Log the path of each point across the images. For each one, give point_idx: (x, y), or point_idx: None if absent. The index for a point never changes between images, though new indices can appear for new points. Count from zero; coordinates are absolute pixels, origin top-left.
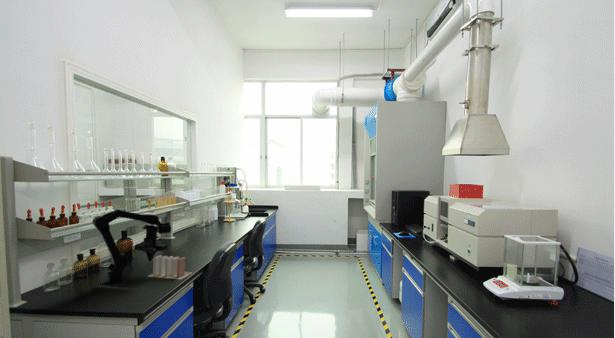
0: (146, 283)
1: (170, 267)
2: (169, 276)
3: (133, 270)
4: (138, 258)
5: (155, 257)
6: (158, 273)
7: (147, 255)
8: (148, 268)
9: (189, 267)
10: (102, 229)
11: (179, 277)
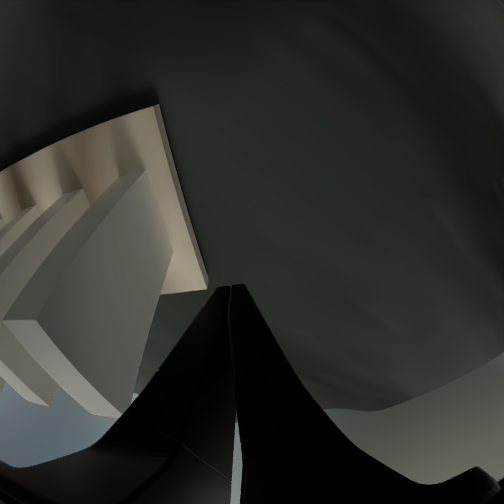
0: (57, 39)
1: None
2: (3, 210)
3: (462, 220)
4: (501, 343)
5: (36, 341)
6: None
7: (271, 373)
8: (381, 289)
9: None
10: None
11: None
